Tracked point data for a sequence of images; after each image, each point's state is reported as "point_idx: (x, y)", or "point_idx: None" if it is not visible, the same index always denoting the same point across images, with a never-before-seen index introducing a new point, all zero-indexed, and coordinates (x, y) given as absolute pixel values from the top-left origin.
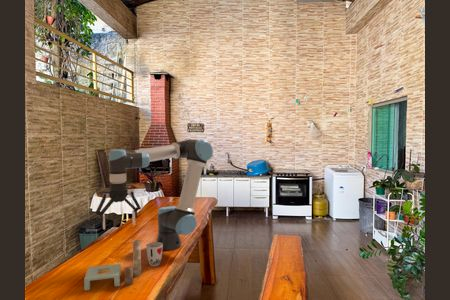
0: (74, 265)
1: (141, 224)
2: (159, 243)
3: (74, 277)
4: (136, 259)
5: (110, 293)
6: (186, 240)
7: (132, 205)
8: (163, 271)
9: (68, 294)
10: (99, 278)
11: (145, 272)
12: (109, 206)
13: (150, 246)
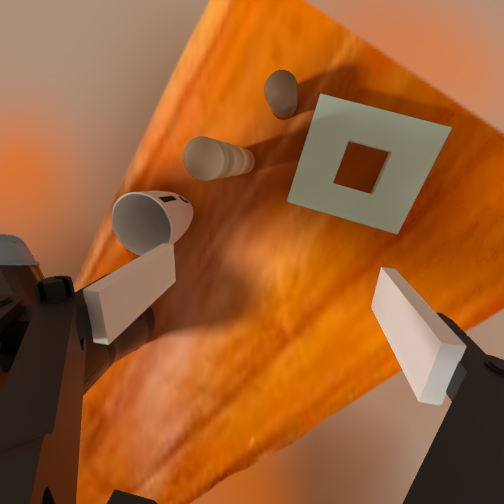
0: None
1: (161, 478)
2: (123, 238)
3: (422, 253)
4: (234, 145)
5: (360, 58)
6: None
7: (27, 349)
8: (165, 139)
9: (485, 131)
10: (392, 113)
11: None
12: (425, 461)
13: None
